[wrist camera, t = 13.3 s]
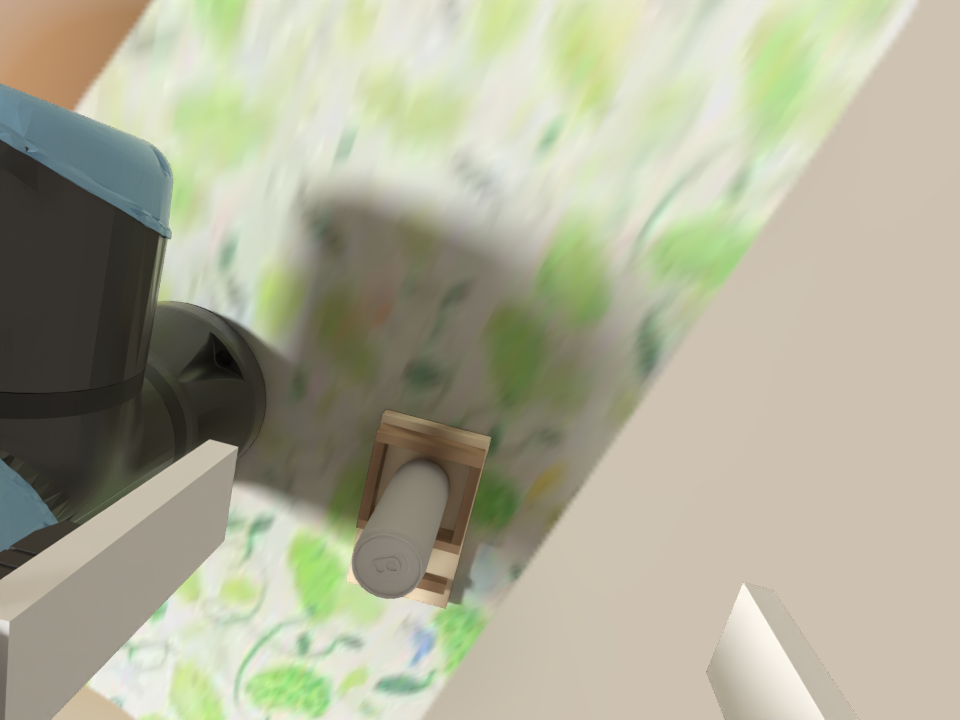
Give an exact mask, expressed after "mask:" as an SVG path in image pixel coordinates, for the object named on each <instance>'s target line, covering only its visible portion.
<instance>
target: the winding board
mask: <svg viewBox="0 0 960 720" xmlns="http://www.w3.org/2000/svg"><path fill="white" fill-rule="evenodd" d="M490 441H491V437H489V436H485V435H481V434H477V433H474V432H470V431H466V430H462V429H458V428H455V427H451V426H447V425H443V424H439V423H436V422H432V421H428V420H424V419H421V418H417V417H413V416H409V415H405V414H402V413H398V412H394V411H390V410H385V411H384V413H383V414H382V419H381V423H380V428H379V429H378V430H377V432H376V437H375V442H374V446H373V451H372V456H371V460H370V465H369V470H368V474H367V479H366V484H365V488H364V493H363V498H362V502H361V507H360V512H359V516H358V521H357V526H356V527H357V528H358V530H357V535H356V539H355V544H354V547H355V545H356V543H357V541H358V539H359V537H360V535H361V534H362V532H363V530H364V528H365V526H366V525H367V523H368V521H369V519H370V517H371V516H372V514H373V512H374V510H375V509H376V507H377V505H378V503H379V501H380V500H381V498H382V496H383V494H384V492H385V490H386V489H387V487H388V485H389V483H390V481H391V479H392V478H393V476H394V474H395V472H396V471H397V470H398V469H399V468H400V467H401V466H402V465H404V464H405V463H407V462H409V461H412V460H415V459H424V460H428V461H431V462H433V463H435V464H437V465H438V466H439V467H440V468H442V469H443V471H444V472H445V474H446V475H447V477H448V480H449V485H450V492H449V496H448V500H447V503H446V506H445V510H444V513H443V516H442V519H441V523H440V526H439V529H438V533H437V536H436V539H435V543H434V546H433V549H432V552H431V556H430V559H429V562H428V566H427V569H426V572H425V574H424V576H423V578H422V580H421V581H420V582H419V584H418V586H417V587H416V588H415V589H414V590H413V591H412V592H411V593H409V594H407V595H405V596H403V597H405V598H408V599H412V600H416V601H419V602H423V603H427V604H430V605H434V606H438V607H441V608H445V609H446V606H447V602H448V598H449V594H450V591H451V587H452V583H453V580H454V576H455V572H456V568H457V565H458V561H459V557H460V553H461V550H462V546H463V542H464V539H465V535H466V531H467V527H468V524H469V520H470V516H471V512H472V509H473V505H474V501H475V498H476V494H477V490H478V486H479V483H480V479H481V475H482V471H483V468H484V464H485V460H486V457H487V453H488V449H489V445H490ZM353 552H354V549H353ZM352 557H353V553H352ZM351 562H352V558H351ZM346 582H350V583H353V584H357V585H360V584H359V583H358V581H357V580H356V578H355V576H354V574H353V571H352V563H350V567H349V572H348V577H347V581H346Z"/></svg>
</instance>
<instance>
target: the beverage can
mask: <svg viewBox="0 0 960 720" xmlns="http://www.w3.org/2000/svg"><path fill="white" fill-rule="evenodd" d="M449 492H450V485H449V480H448V477H447V475H446V474H445V472H444V471H443V469H442V468H440V467H439V466H438V465H437V464H435V463H433V462H431V461H428V460H424V459H415V460H412V461H409V462H407V463H405V464H404V465H402V466H401V467H400V468H399V469H398V470H397V471H396V472H395V474H394V476H393V478H392V479H391V481H390V483H389V485H388V487H387V489H386V490H385V492H384V494H383V496H382V498H381V500H380V501H379V503H378V505H377V507H376V509H375V510H374V512H373V514H372V516H371V517H370V519H369V521H368V523H367V525H366V526H365V528H364V530H363V532H362V534H361V535H360V537H359V539H358V541H357V543H356V545H355V547H354V552H353V557H352V562H351V563H352V571H353V574H354V576H355V578H356V580H357V581H358V583H359V584H360V585H361V587H363V588H364V589H365V590H366V591H367V592H369V593H371V594H373V595H375V596H377V597H381V598H387V599H395V598H399V597H403V596H405V595H407V594H409V593H411V592H412V591H413V590H414V589H415V588H416V587H417V586H418V584H419V582H420V581H421V580H422V578H423V576H424V574H425V572H426V569H427V566H428V562H429V559H430V556H431V552H432V549H433V546H434V543H435V539H436V536H437V533H438V529H439V526H440V523H441V519H442V516H443V513H444V510H445V506H446V503H447V500H448V496H449Z"/></svg>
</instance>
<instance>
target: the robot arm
mask: <svg viewBox="0 0 960 720" xmlns="http://www.w3.org/2000/svg"><path fill="white" fill-rule="evenodd" d="M172 188H173V174H172V170H171V167H170V164H169V162H168V160H167V159H166V157H165V156H164V155H163V154H162V153H161V152H160V151H159V150H158V149H157V148H156V147H155V146H153V145H152V144H150V143H149V142H147V141H145V140H143V139H140V138H138V137H135V136H133V135H130V134H128V133H125V132H123V131H121V130H118V129H116V128H113V127H111V126H108V125H106V124H103V123H100V122H98V121H95V120H93V119H90V118H88V117H85V116H83V115H80V114H78V113H75V112H73V111H70V110H68V109H65V108H63V107H60V106H57V105H55V104H52V103H50V102H47V101H45V100H42V99H39V98H37V97H34V96H32V95H29V94H27V93H24V92H22V91H19V90H16V89H14V88H11V87H9V86H6V85H3V84H1V83H0V720H51V719H52V718H53V717H54V716H55V715H56V714H57V713H58V712H59V711H60V710H61V709H62V708H63V707H64V706H65V705H66V704H67V702H69V701H70V699H71V698H72V697H73V696H74V695H75V694H76V693H77V692H78V691H79V690H80V689H81V688H82V687H83V686H84V685H85V684H86V683H87V682H88V681H89V680H90V679H91V678H92V677H93V676H94V675H95V674H96V673H97V672H98V671H99V670H100V669H101V668H102V666H103V665H104V664H105V663H106V662H107V661H108V660H109V659H110V658H111V657H112V656H113V655H114V654H115V653H116V652H117V651H118V650H119V649H120V648H121V647H122V646H123V645H124V644H125V643H126V642H127V641H128V640H129V639H130V638H131V637H132V635H133V634H134V633H135V632H136V631H137V630H138V629H139V628H140V627H141V626H142V625H143V624H144V623H145V622H146V621H147V620H148V619H149V618H150V617H151V616H152V615H153V614H154V613H155V612H156V611H157V610H158V609H159V608H160V607H161V606H162V604H163V603H164V602H165V601H166V600H167V599H168V598H169V597H170V596H171V595H172V594H173V593H174V592H175V591H176V590H177V589H178V588H179V587H180V586H181V585H182V584H183V583H184V582H185V581H186V580H187V579H188V578H189V577H190V576H191V574H192V573H193V572H194V571H195V570H196V569H197V568H198V567H199V566H200V565H201V564H202V563H203V562H204V561H205V560H206V559H207V558H208V557H209V556H210V555H211V554H212V553H213V552H214V551H215V550H216V549H217V548H218V547H219V546H220V545H221V543H222V542H223V541H224V539H225V533H226V526H227V519H228V513H229V506H230V499H231V493H232V486H233V480H234V473H235V466H236V460H237V459H238V458H239V457H240V456H241V455H243V454H244V453H245V452H246V451H247V449H248V448H249V447H250V446H251V445H252V443H253V442H254V440H255V438H256V437H257V435H258V433H259V431H260V428H261V425H262V422H263V419H264V414H265V404H266V395H265V386H264V381H263V377H262V373H261V370H260V367H259V365H258V363H257V360H256V358H255V356H254V355H253V353H252V351H251V349H250V348H249V346H248V345H247V344H246V342H245V341H244V340H243V338H242V337H241V336H240V335H239V334H238V333H237V332H236V331H235V330H234V329H233V328H232V327H231V326H230V325H229V324H227V323H226V322H225V321H223V320H222V319H221V318H219V317H218V316H216V315H214V314H213V313H211V312H209V311H207V310H205V309H203V308H200V307H197V306H194V305H191V304H187V303H182V302H175V301H160V302H157V299H158V293H159V287H160V281H161V275H162V269H163V263H164V257H165V252H166V246H167V240H168V239H171V235H172V233H171V230H170V228H169V216H170V207H171V197H172ZM706 672H707V675H708V677H709V680H710V682H711V685H712V687H713V690H714V693H715V695H716V698H717V700H718V703H719V705H720V708H721V711H722V713H723V716H724V718H725V720H859V719H858V717H857V716H856V714H855V713H854V711H853V709H852V708H851V706H850V705H849V703H848V702H847V701H846V699H845V697H844V696H843V694H842V693H841V691H840V690H839V689H838V687H837V686H836V684H835V682H834V681H833V679H832V678H831V676H830V675H829V673H828V672H827V670H826V669H825V667H824V666H823V664H822V663H821V661H820V660H819V658H818V657H817V655H816V654H815V652H814V651H813V649H812V648H811V646H810V645H809V643H808V642H807V640H806V638H805V637H804V635H803V634H802V633H801V631H800V629H799V628H798V626H797V625H796V624H795V622H794V620H793V619H792V617H791V616H790V614H789V613H788V611H787V610H786V608H785V607H784V605H783V604H782V602H781V601H780V599H779V598H778V596H777V595H776V593H775V592H774V590H770V589H767V588H763V587H759V586H756V585H752V584H748V583H743V585H742V587H741V589H740V592H739V594H738V596H737V599H736V602H735V604H734V606H733V609H732V611H731V613H730V616H729V618H728V621H727V623H726V626H725V628H724V630H723V633H722V635H721V638H720V640H719V642H718V645H717V647H716V650H715V652H714V655H713V657H712V659H711V662H710V664H709V667H708V669H707V671H706Z"/></svg>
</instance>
